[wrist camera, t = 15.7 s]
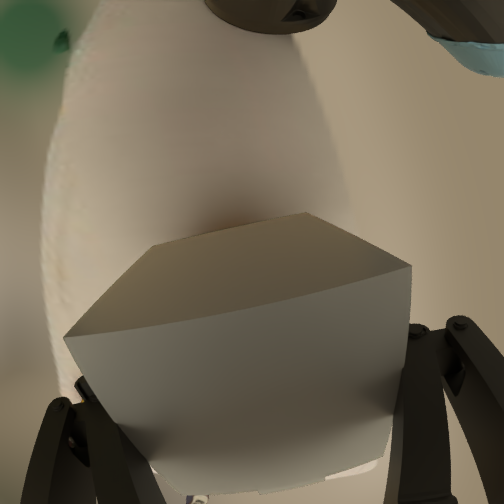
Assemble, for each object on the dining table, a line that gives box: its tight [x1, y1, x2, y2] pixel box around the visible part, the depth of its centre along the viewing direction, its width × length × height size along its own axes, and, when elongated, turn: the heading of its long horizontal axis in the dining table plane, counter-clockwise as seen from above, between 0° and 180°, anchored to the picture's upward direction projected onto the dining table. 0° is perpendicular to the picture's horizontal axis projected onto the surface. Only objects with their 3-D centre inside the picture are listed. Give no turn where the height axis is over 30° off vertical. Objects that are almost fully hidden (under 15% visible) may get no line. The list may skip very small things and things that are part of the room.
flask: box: [186, 495, 209, 504], centre depth 31 cm, size 9×3×11 cm, turn 160°
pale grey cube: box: [63, 212, 412, 495], centre depth 12 cm, size 9×9×10 cm
